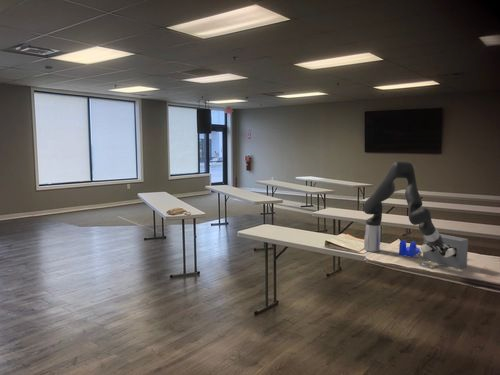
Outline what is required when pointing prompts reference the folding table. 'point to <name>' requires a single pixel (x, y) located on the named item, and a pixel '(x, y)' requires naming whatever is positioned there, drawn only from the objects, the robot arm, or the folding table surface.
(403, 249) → the bracket
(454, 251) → the near button
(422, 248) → the far button
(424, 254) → the grey button panel
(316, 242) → the folding table surface
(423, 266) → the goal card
